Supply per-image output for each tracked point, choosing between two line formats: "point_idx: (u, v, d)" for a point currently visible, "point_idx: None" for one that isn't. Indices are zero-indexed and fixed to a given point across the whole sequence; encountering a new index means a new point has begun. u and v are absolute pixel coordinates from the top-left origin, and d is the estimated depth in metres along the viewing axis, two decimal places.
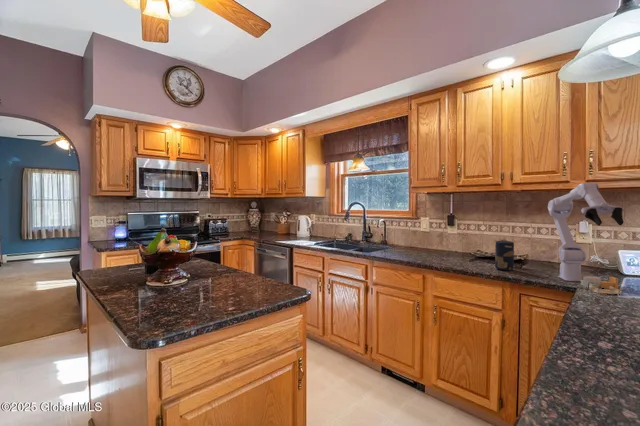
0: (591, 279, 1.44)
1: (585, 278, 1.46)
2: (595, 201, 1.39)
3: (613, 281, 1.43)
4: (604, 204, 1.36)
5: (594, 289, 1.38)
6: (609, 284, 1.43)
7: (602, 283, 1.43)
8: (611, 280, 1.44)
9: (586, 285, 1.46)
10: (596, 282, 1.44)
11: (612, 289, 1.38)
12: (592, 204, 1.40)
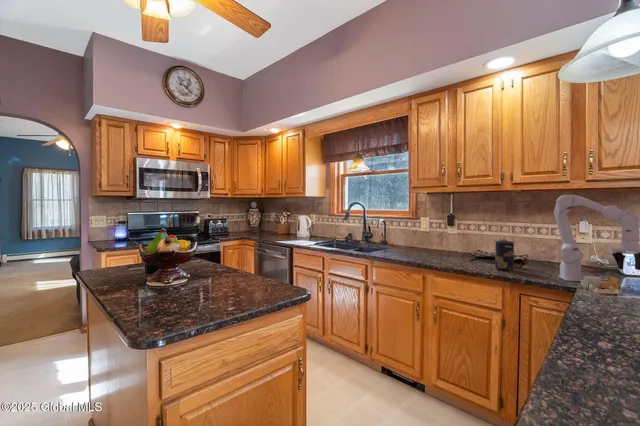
0: (591, 279, 1.44)
1: (585, 278, 1.46)
2: (629, 244, 1.40)
3: (613, 281, 1.43)
4: (634, 252, 1.38)
5: (594, 289, 1.38)
6: (609, 284, 1.43)
7: (602, 283, 1.43)
8: (611, 280, 1.44)
9: (586, 285, 1.46)
10: (596, 282, 1.44)
11: (612, 289, 1.38)
12: (624, 245, 1.41)
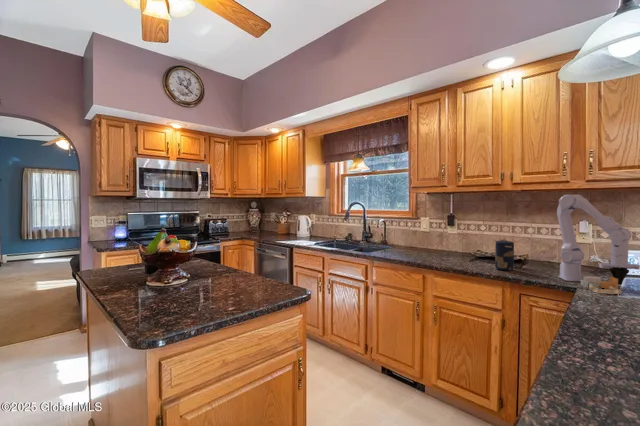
0: (591, 279, 1.44)
1: (585, 278, 1.46)
2: (618, 259, 1.41)
3: (613, 281, 1.43)
4: (623, 267, 1.39)
5: (594, 289, 1.38)
6: (609, 284, 1.43)
7: (602, 283, 1.43)
8: (611, 280, 1.44)
9: (586, 285, 1.46)
10: (596, 282, 1.44)
11: (612, 289, 1.38)
12: (613, 260, 1.42)
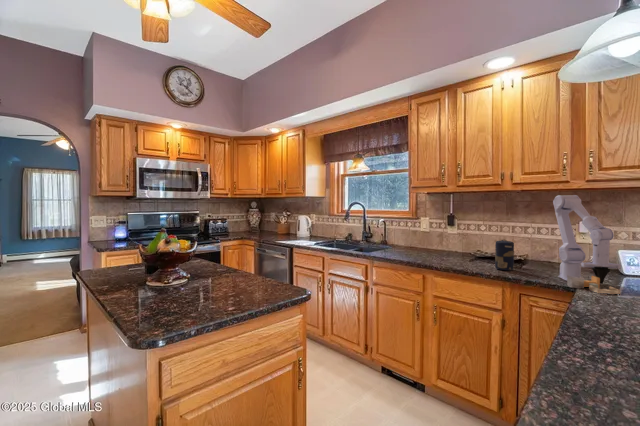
0: (574, 278, 1.46)
1: (569, 277, 1.48)
2: (599, 259, 1.43)
3: (595, 280, 1.45)
4: (605, 266, 1.41)
5: (594, 289, 1.38)
6: None
7: (584, 282, 1.45)
8: (593, 279, 1.46)
9: (570, 284, 1.47)
10: (579, 281, 1.45)
11: (612, 289, 1.38)
12: (595, 259, 1.44)
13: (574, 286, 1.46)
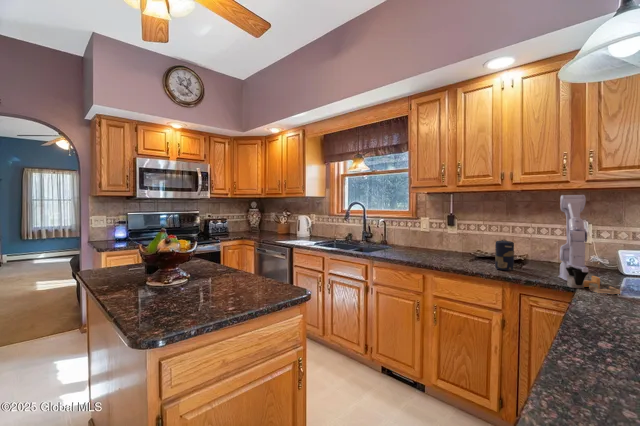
0: None
1: (569, 277, 1.48)
2: None
3: (595, 280, 1.45)
4: (568, 265, 1.48)
5: (594, 289, 1.38)
6: None
7: (584, 282, 1.45)
8: (593, 279, 1.46)
9: (570, 284, 1.47)
10: None
11: (612, 289, 1.38)
12: None
13: (574, 286, 1.46)
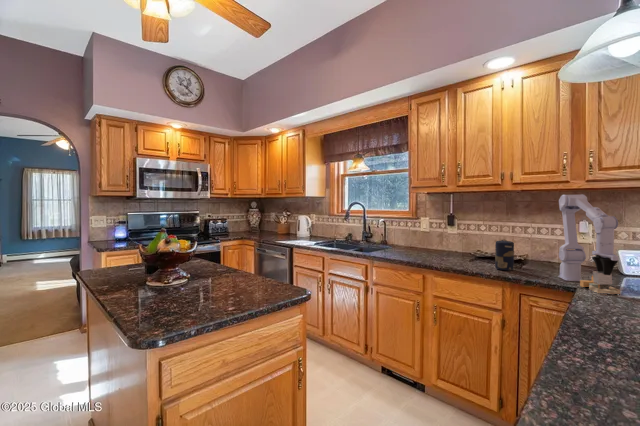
0: (601, 274, 1.36)
1: (595, 273, 1.39)
2: None
3: None
4: (595, 254, 1.38)
5: (594, 289, 1.38)
6: None
7: (584, 282, 1.45)
8: None
9: (597, 281, 1.38)
10: (607, 277, 1.36)
11: (612, 289, 1.38)
12: None
13: (601, 282, 1.37)
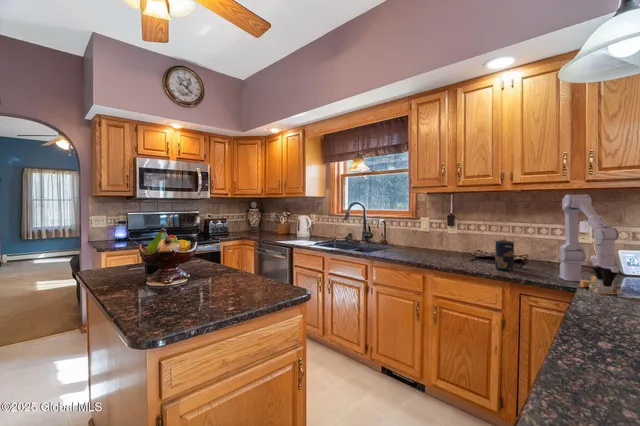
0: (603, 281, 1.36)
1: (597, 280, 1.39)
2: None
3: None
4: (595, 265, 1.38)
5: (594, 289, 1.38)
6: None
7: (584, 282, 1.45)
8: (593, 279, 1.46)
9: (598, 288, 1.38)
10: None
11: None
12: None
13: (603, 290, 1.36)
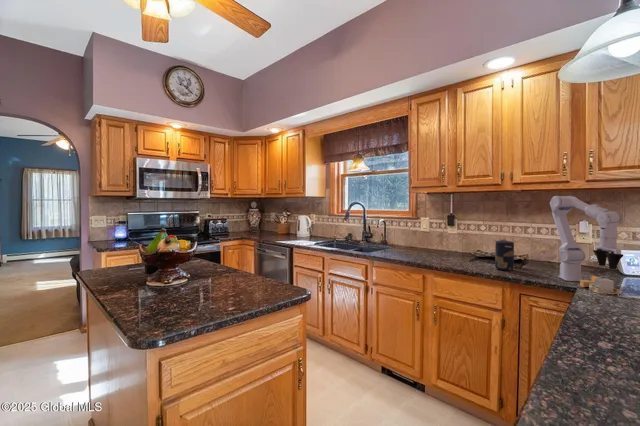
0: (603, 281, 1.36)
1: (597, 280, 1.39)
2: None
3: None
4: (598, 248, 1.43)
5: (594, 289, 1.38)
6: None
7: (584, 282, 1.45)
8: (593, 279, 1.46)
9: (598, 288, 1.38)
10: (608, 285, 1.36)
11: None
12: None
13: (603, 290, 1.36)
